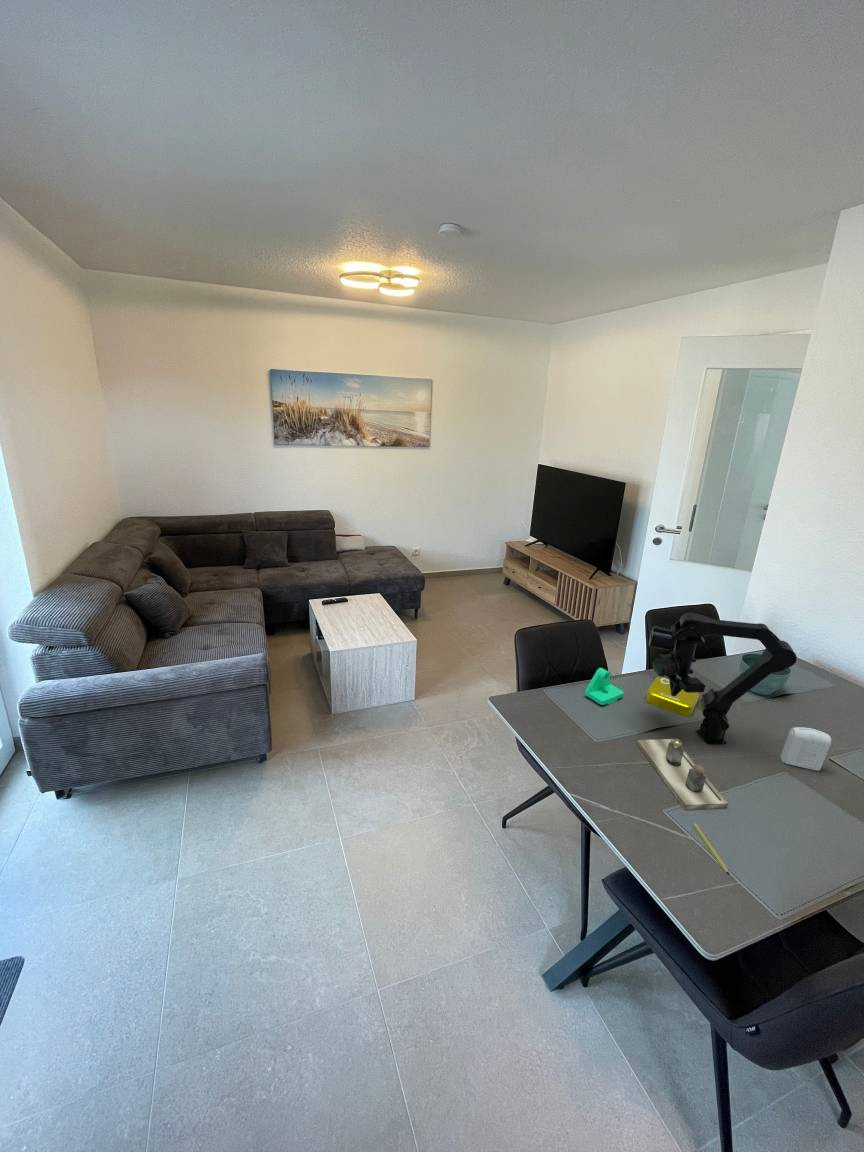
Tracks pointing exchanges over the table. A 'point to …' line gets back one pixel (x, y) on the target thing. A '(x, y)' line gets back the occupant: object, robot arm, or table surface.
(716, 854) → the pencil
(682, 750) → the sliding leg
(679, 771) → the bolt plate
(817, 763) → the photo printer
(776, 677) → the flower pot
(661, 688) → the element tile
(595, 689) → the camera mount
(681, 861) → the table surface
